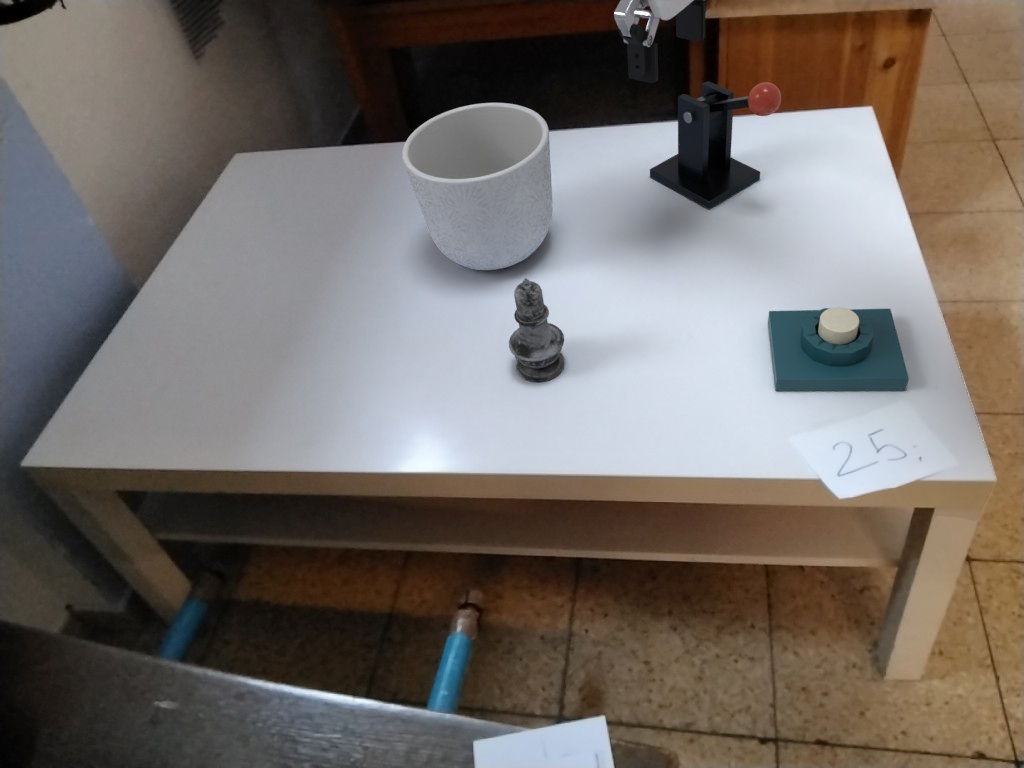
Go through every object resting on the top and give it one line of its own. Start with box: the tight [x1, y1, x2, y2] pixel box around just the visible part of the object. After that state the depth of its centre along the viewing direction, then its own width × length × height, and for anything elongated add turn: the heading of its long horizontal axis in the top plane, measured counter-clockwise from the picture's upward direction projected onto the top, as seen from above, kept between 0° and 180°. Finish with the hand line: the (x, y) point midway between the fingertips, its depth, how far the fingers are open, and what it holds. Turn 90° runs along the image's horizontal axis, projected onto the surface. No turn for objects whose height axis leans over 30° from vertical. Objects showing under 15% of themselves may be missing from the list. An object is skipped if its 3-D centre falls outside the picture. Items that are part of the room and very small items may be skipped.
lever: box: [696, 81, 782, 120], centre depth 97 cm, size 13×4×4 cm, turn 36°
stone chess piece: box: [508, 278, 566, 383], centre depth 85 cm, size 6×6×12 cm
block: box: [767, 307, 910, 392], centre depth 83 cm, size 12×10×4 cm
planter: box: [401, 102, 553, 271], centre depth 99 cm, size 17×17×15 cm
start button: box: [818, 306, 859, 345], centre depth 81 cm, size 4×4×2 cm
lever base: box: [649, 80, 761, 210], centre depth 104 cm, size 11×9×12 cm
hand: (667, 58), depth 87 cm, fingers open, 9 cm apart
